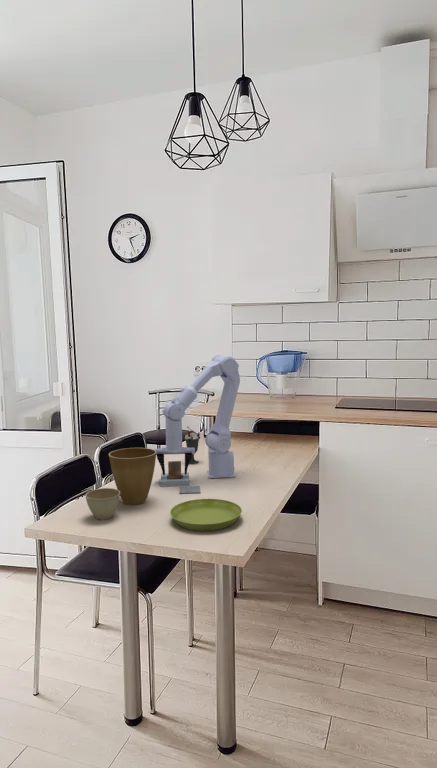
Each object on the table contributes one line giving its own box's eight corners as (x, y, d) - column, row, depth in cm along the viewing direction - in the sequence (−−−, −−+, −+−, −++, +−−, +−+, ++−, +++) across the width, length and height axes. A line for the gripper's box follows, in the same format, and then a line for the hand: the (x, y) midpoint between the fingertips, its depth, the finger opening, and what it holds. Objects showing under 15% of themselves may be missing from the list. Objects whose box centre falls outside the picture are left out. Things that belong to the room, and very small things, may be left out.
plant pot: (167, 500, 179) (165, 451, 177) (129, 512, 169) (127, 461, 167) (138, 490, 190) (137, 444, 188) (101, 501, 179) (99, 452, 177)
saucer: (189, 505, 175) (189, 495, 175) (251, 513, 168) (251, 503, 167) (157, 528, 156) (157, 517, 156) (226, 539, 149) (225, 527, 148)
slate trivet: (199, 486, 193) (199, 485, 193) (200, 493, 186) (200, 492, 186) (179, 487, 193) (179, 486, 193) (179, 494, 186) (179, 492, 186)
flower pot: (80, 516, 166) (78, 493, 165) (108, 508, 173) (107, 486, 172) (98, 525, 159) (97, 501, 158) (127, 516, 166) (126, 493, 165)
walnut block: (181, 479, 202) (180, 461, 201) (181, 483, 197) (181, 464, 196) (168, 480, 201) (168, 461, 201) (168, 484, 197) (168, 464, 196)
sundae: (181, 463, 223) (180, 427, 222) (188, 459, 230) (187, 423, 228) (196, 465, 221) (195, 428, 219) (203, 461, 227) (202, 424, 225)
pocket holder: (188, 477, 205) (188, 472, 205) (189, 485, 195) (189, 480, 195) (161, 478, 204) (161, 473, 204) (160, 486, 194) (160, 481, 194)
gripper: (152, 439, 193) (153, 477, 195) (194, 438, 194) (195, 476, 196) (153, 435, 200) (154, 472, 202) (194, 434, 201) (194, 471, 203)
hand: (174, 474), depth 199 cm, fingers open, 7 cm apart
